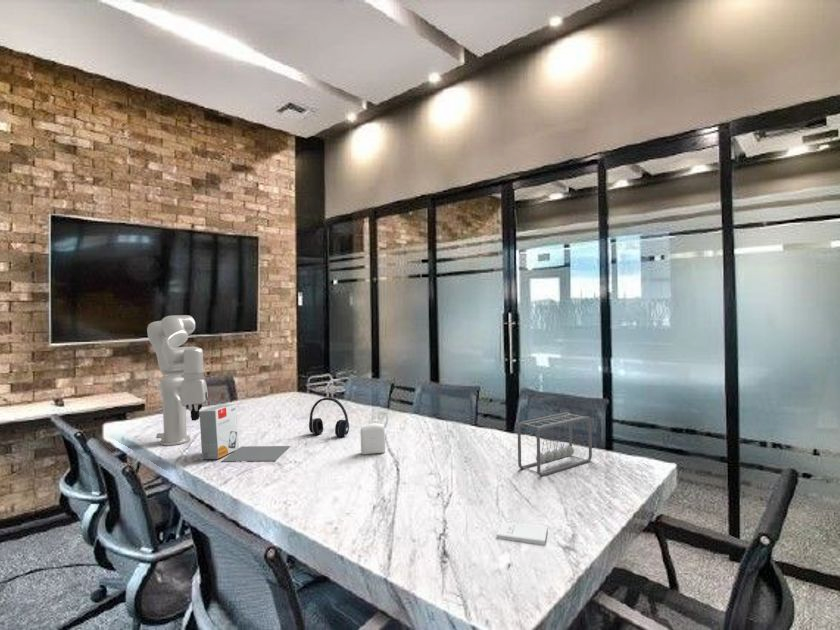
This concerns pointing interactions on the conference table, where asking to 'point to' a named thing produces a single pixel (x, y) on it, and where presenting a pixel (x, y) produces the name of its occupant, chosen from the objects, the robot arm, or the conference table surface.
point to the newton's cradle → (554, 453)
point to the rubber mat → (256, 453)
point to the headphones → (317, 423)
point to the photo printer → (372, 438)
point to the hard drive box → (219, 431)
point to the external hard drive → (523, 533)
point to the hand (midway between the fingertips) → (195, 419)
